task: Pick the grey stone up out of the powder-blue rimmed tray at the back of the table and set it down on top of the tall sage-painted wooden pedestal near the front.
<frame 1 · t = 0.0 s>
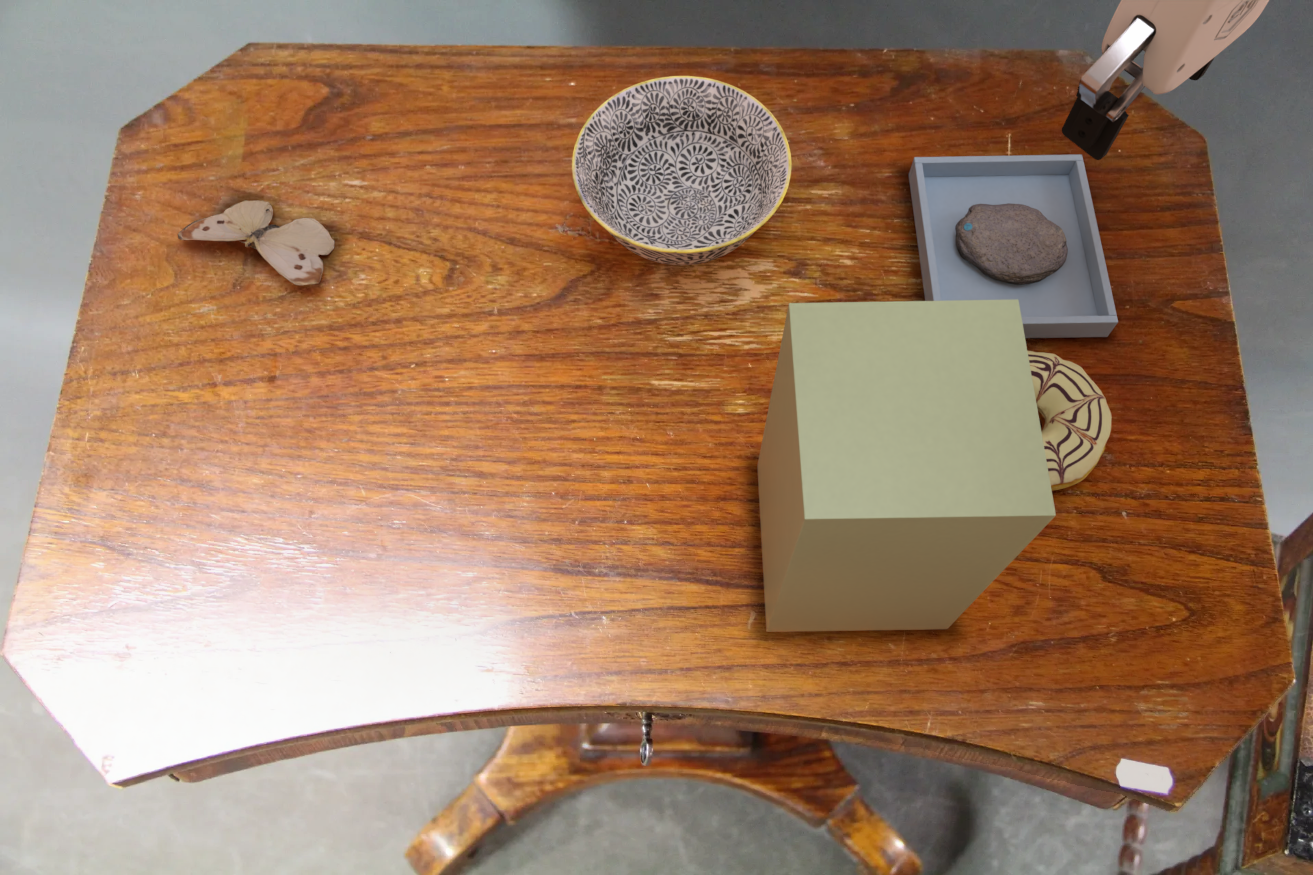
hand: (1131, 105, 70), 15 cm above the table, tool pointing down, fingers open, 9 cm apart
butterfly: (260, 250, 84), on the table
tray: (1004, 252, 83), on the table
decorated donut: (1019, 431, 77), on the table
bowl: (680, 222, 85), on the table
stand: (916, 404, 54), on the table
stone: (1004, 251, 83), resting on tray
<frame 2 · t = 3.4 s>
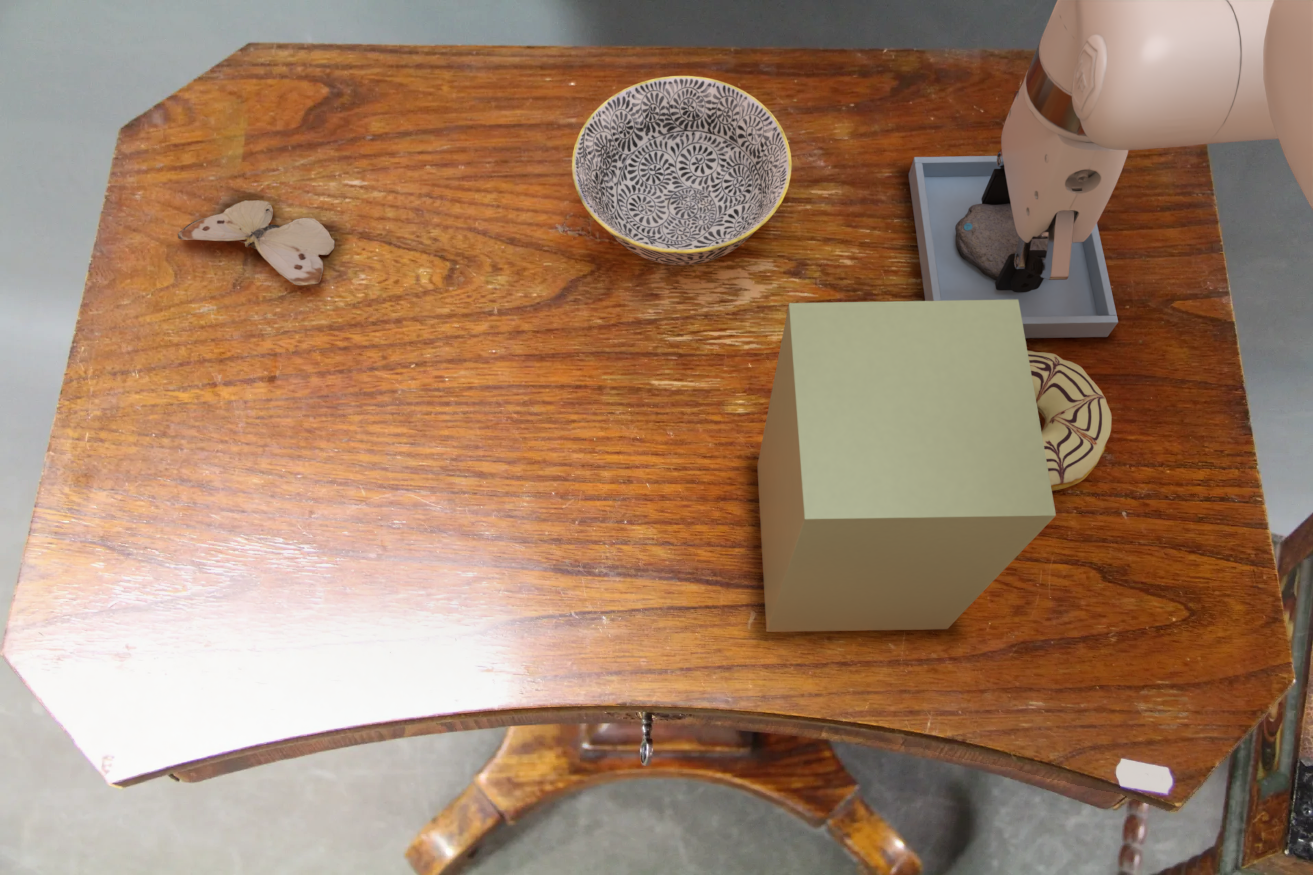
hand: (1008, 243, 82), 1 cm above the table, tool pointing down, fingers closed on stone, 6 cm apart
stone: (1004, 251, 83), resting on tray, touching gripper
everything else where it was.
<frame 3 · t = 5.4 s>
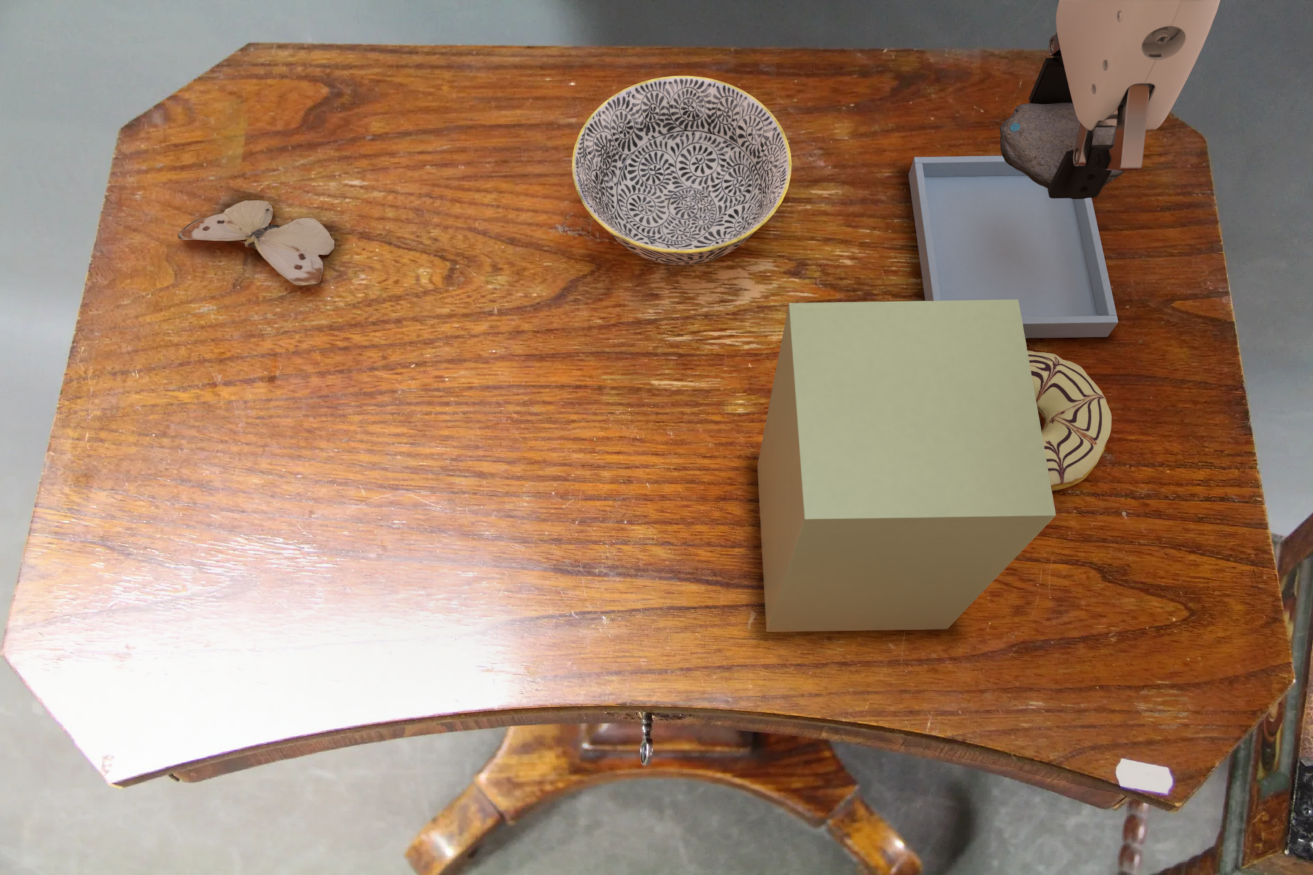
hand: (1061, 147, 71), 13 cm above the table, tool pointing down, fingers closed on stone, 6 cm apart
stone: (1056, 157, 72), point 12 cm above the table, touching gripper
everything else where it was.
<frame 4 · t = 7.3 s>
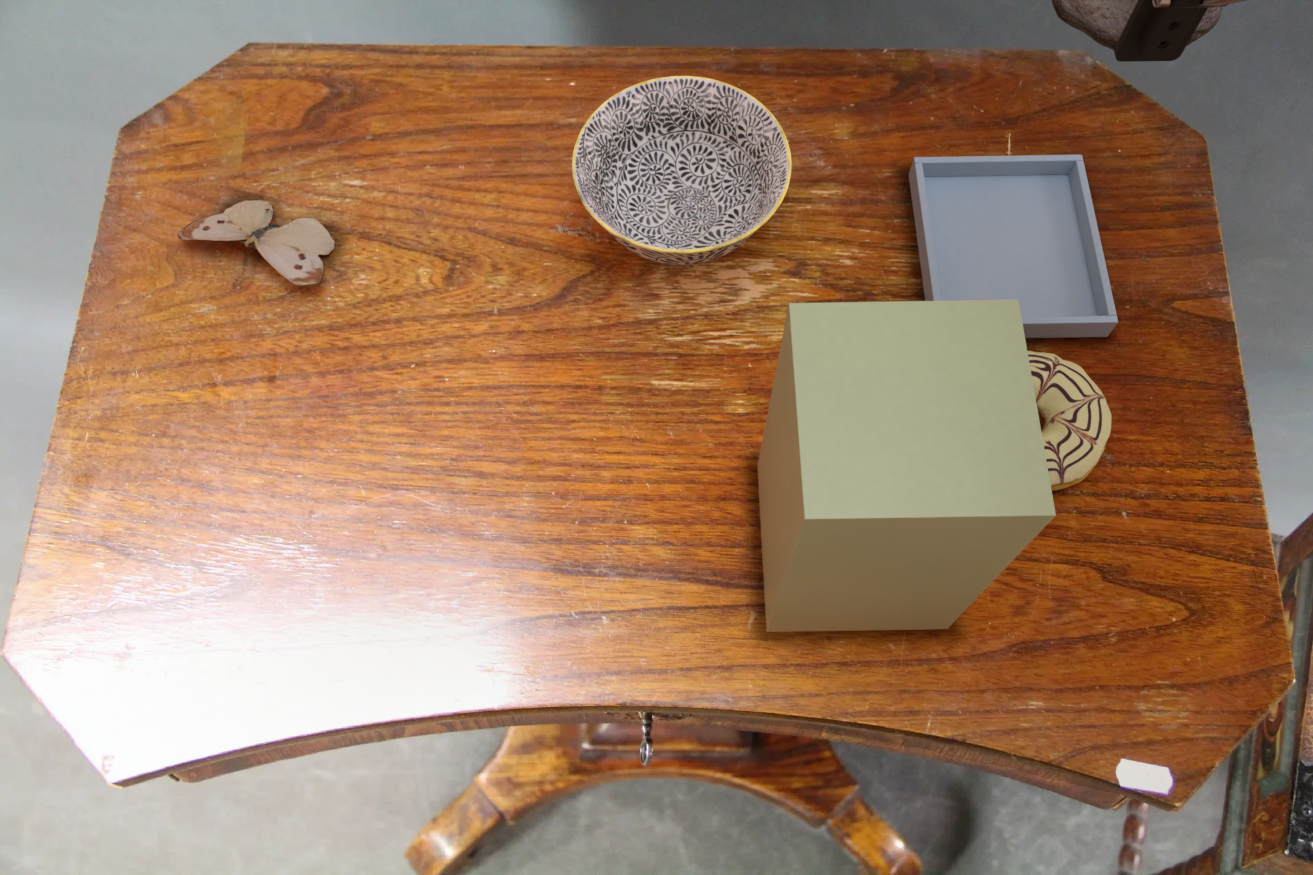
stone: (1123, 14, 56), point 28 cm above the table, touching gripper
everything else where it was.
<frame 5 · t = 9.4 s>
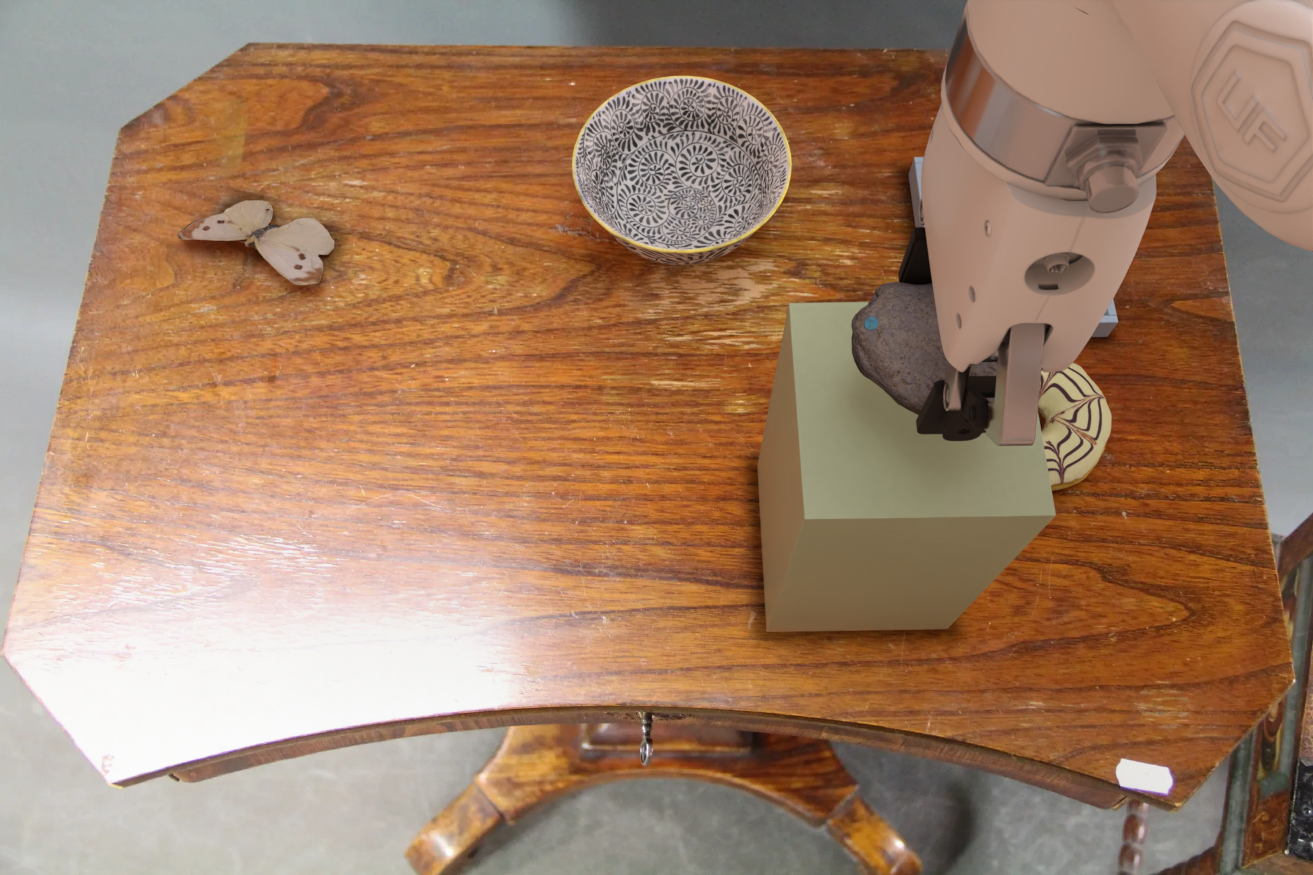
hand: (941, 351, 49), 27 cm above the table, tool pointing down, fingers closed on stone, 6 cm apart
stone: (935, 361, 50), point 26 cm above the table, touching gripper
everything else where it was.
when the fingers open (23 cm above the table, at t = 11.1 s): stone stays where it is, resting on stand.
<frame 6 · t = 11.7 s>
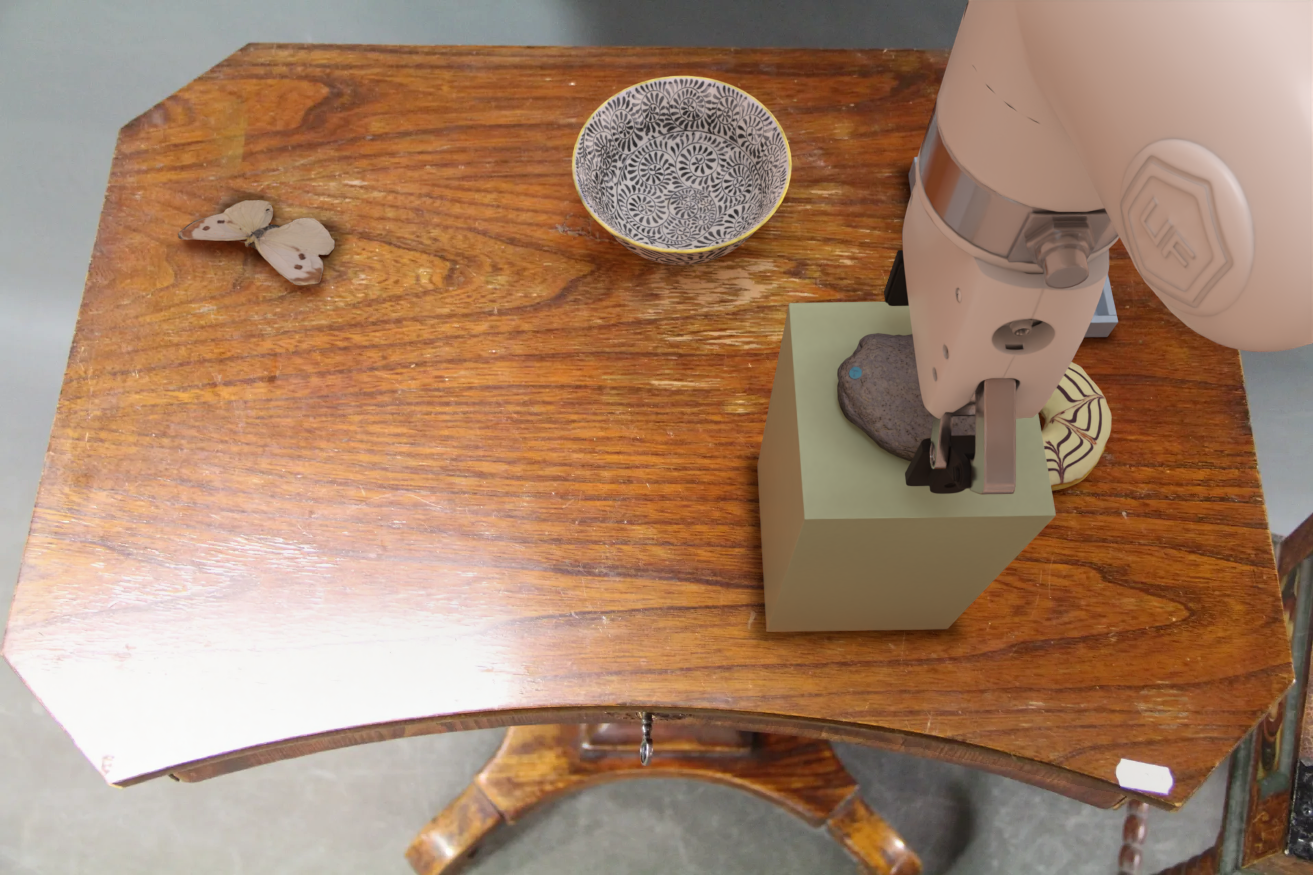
hand: (926, 386, 52), 24 cm above the table, tool pointing down, fingers open, 9 cm apart
stone: (915, 406, 54), point 22 cm above the table, touching stand
everything else where it was.
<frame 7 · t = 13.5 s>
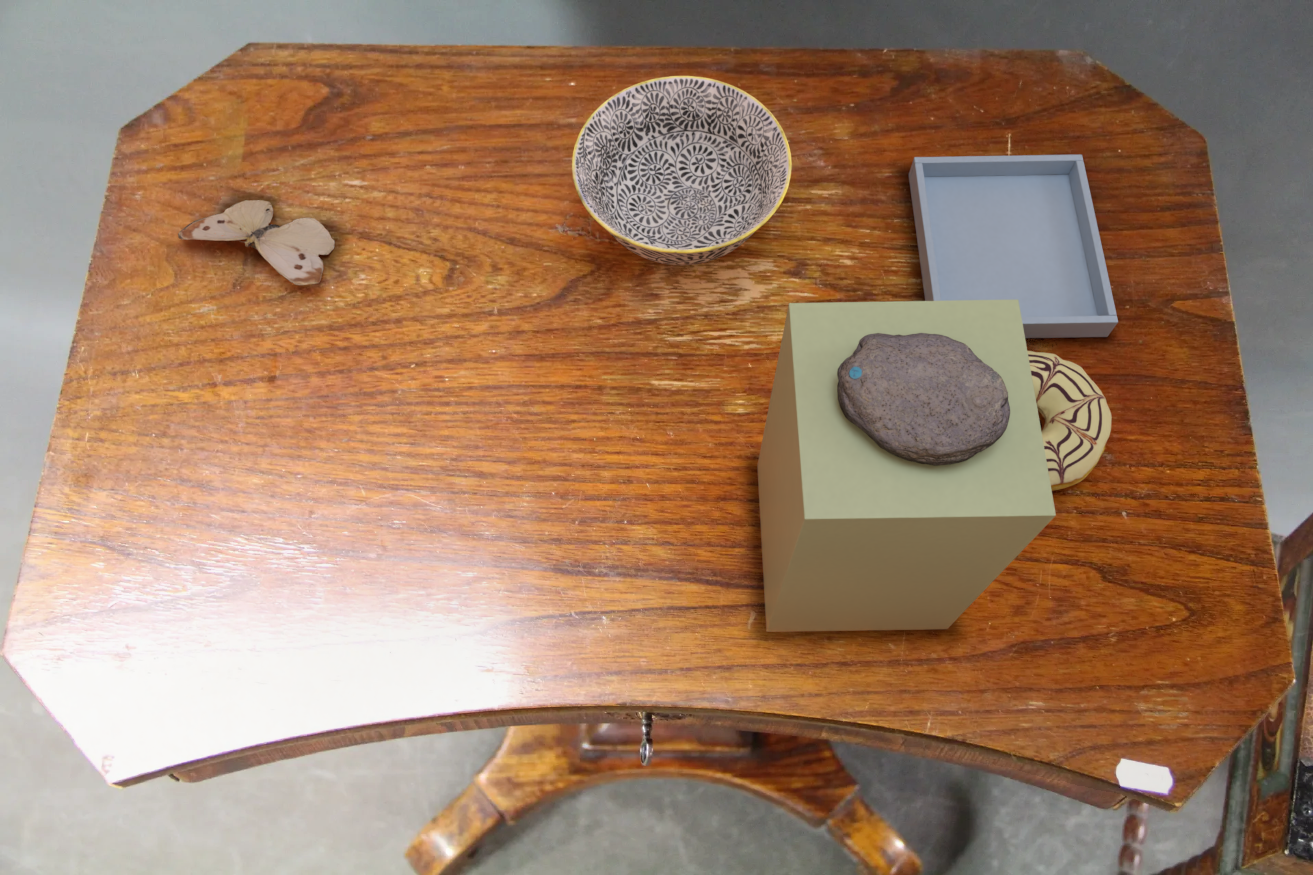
nothing on the table moved.
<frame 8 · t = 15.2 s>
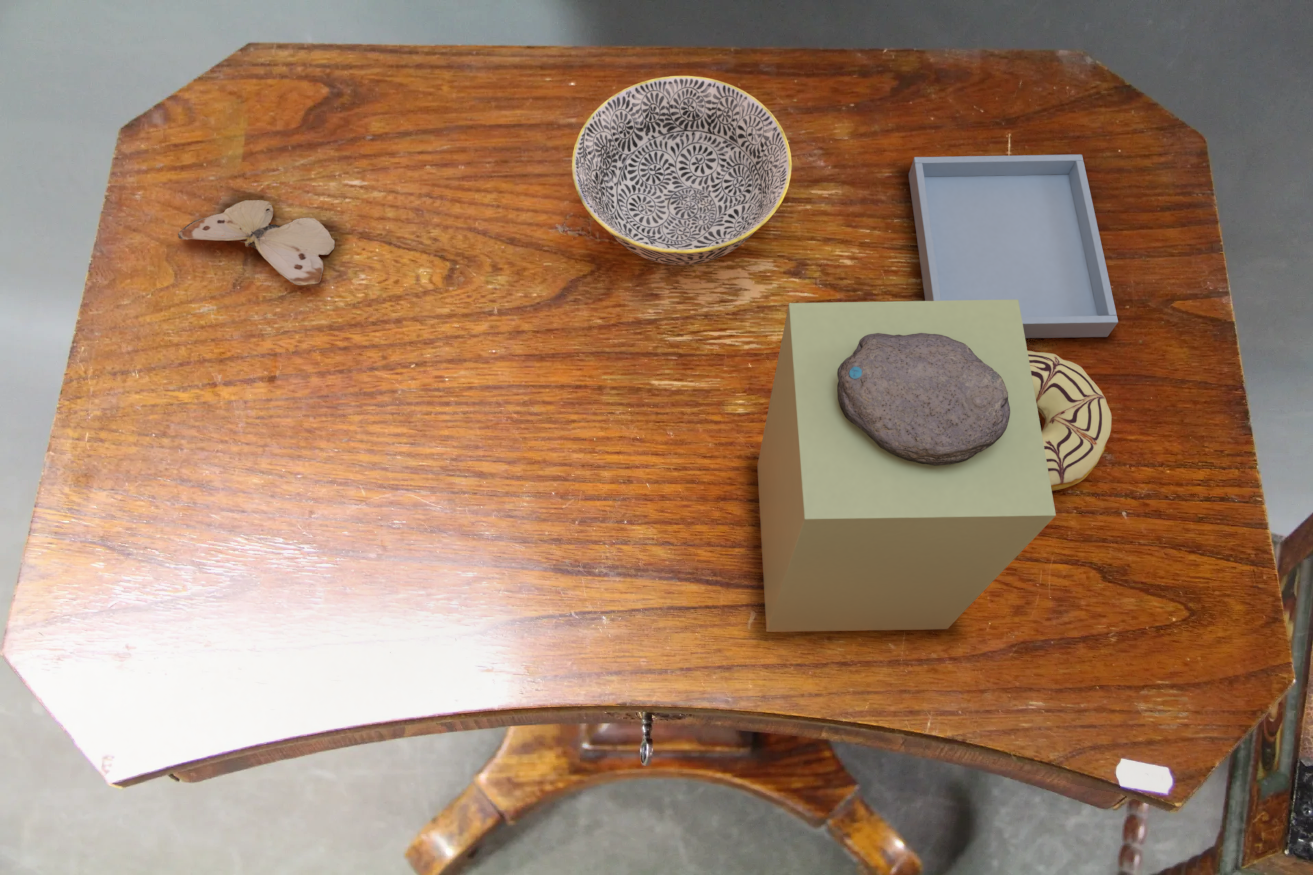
nothing on the table moved.
at the end: stone inside the target area on the stand (0.0 cm from its centre), point 0.0 cm above the stand's base; stone touching stand; the gripper is holding nothing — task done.
